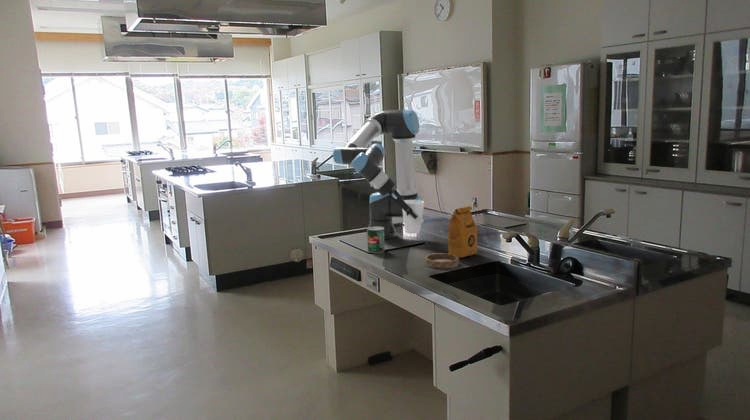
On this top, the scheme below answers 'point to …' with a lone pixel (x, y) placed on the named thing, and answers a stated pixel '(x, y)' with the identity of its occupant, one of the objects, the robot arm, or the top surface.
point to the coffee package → (462, 233)
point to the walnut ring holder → (441, 260)
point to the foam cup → (409, 223)
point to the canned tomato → (376, 239)
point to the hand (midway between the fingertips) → (420, 220)
